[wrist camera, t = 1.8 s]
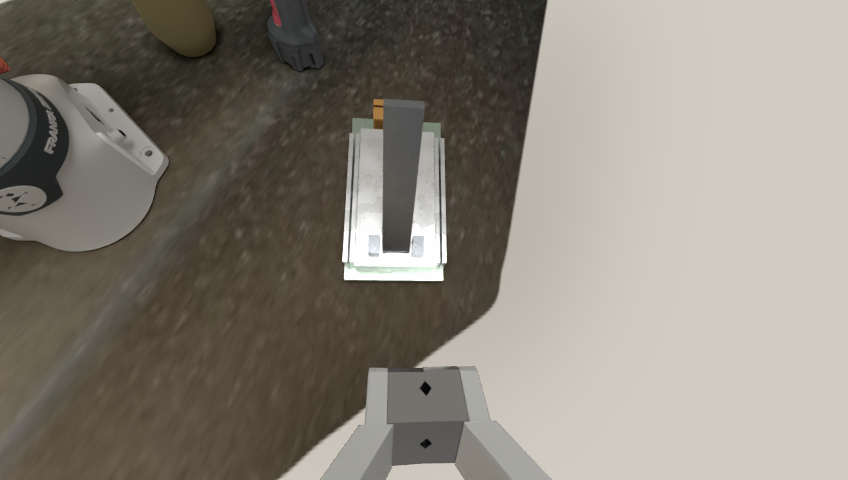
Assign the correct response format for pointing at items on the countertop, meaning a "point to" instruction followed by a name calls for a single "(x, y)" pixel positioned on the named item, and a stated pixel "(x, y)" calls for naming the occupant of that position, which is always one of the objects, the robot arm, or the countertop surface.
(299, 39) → the flashlight
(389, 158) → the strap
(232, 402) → the countertop surface
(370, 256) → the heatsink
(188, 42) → the squeeze bottle
